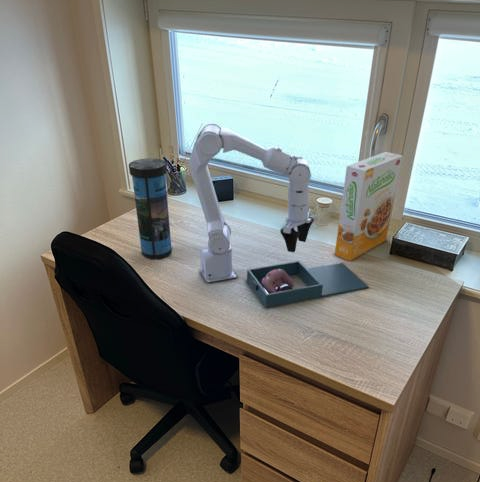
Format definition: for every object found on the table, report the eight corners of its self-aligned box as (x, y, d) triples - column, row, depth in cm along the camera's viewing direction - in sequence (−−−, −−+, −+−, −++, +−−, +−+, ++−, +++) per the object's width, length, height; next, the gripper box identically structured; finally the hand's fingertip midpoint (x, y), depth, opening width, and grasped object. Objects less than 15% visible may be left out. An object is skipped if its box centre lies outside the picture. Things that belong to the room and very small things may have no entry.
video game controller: (284, 286, 141) (276, 265, 140) (295, 285, 138) (288, 263, 136) (264, 300, 135) (256, 278, 133) (276, 299, 132) (268, 276, 130)
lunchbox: (263, 308, 129) (264, 295, 127) (245, 281, 141) (245, 269, 139) (368, 287, 138) (370, 275, 136) (342, 264, 150) (343, 252, 148)
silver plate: (270, 304, 131) (270, 303, 131) (254, 282, 141) (255, 282, 141) (300, 298, 133) (300, 297, 133) (282, 277, 143) (282, 277, 143)
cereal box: (350, 260, 152) (364, 170, 136) (334, 254, 156) (346, 166, 139) (385, 240, 166) (402, 155, 149) (370, 234, 169) (385, 151, 153)
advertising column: (180, 250, 158) (173, 162, 141) (158, 263, 150) (148, 172, 133) (155, 242, 163) (146, 156, 146) (132, 254, 155) (120, 165, 139)
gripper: (300, 214, 124) (298, 259, 132) (321, 196, 134) (318, 239, 142) (276, 210, 127) (276, 254, 135) (299, 193, 137) (297, 234, 145)
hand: (296, 246), depth 139 cm, fingers open, 7 cm apart
